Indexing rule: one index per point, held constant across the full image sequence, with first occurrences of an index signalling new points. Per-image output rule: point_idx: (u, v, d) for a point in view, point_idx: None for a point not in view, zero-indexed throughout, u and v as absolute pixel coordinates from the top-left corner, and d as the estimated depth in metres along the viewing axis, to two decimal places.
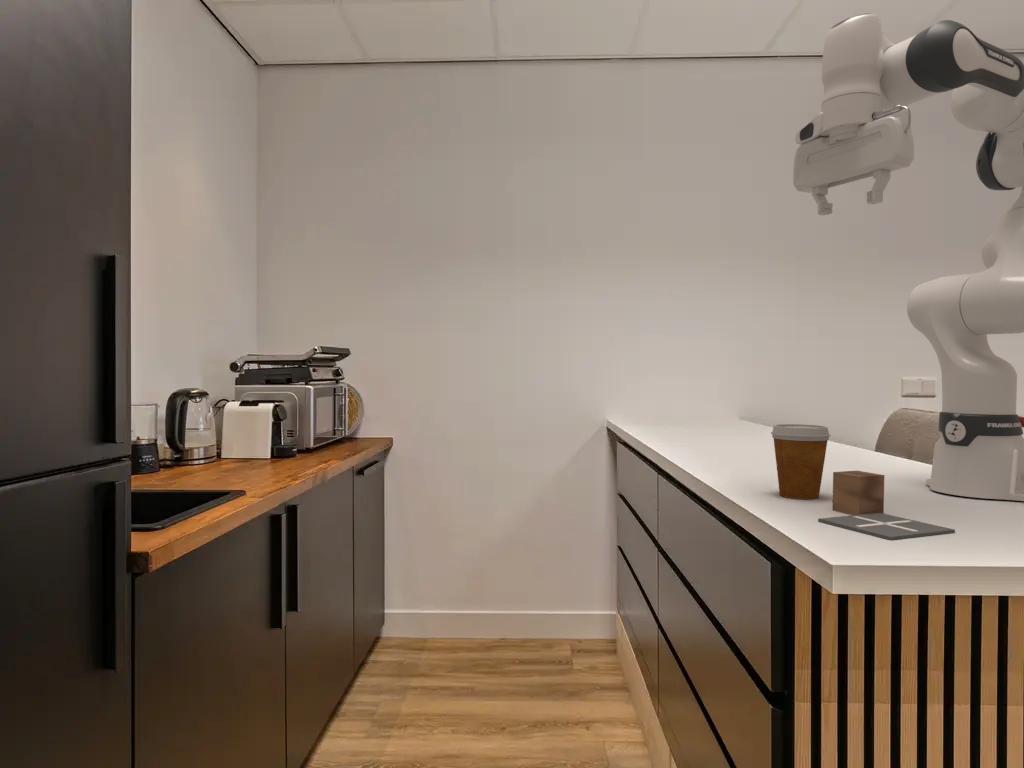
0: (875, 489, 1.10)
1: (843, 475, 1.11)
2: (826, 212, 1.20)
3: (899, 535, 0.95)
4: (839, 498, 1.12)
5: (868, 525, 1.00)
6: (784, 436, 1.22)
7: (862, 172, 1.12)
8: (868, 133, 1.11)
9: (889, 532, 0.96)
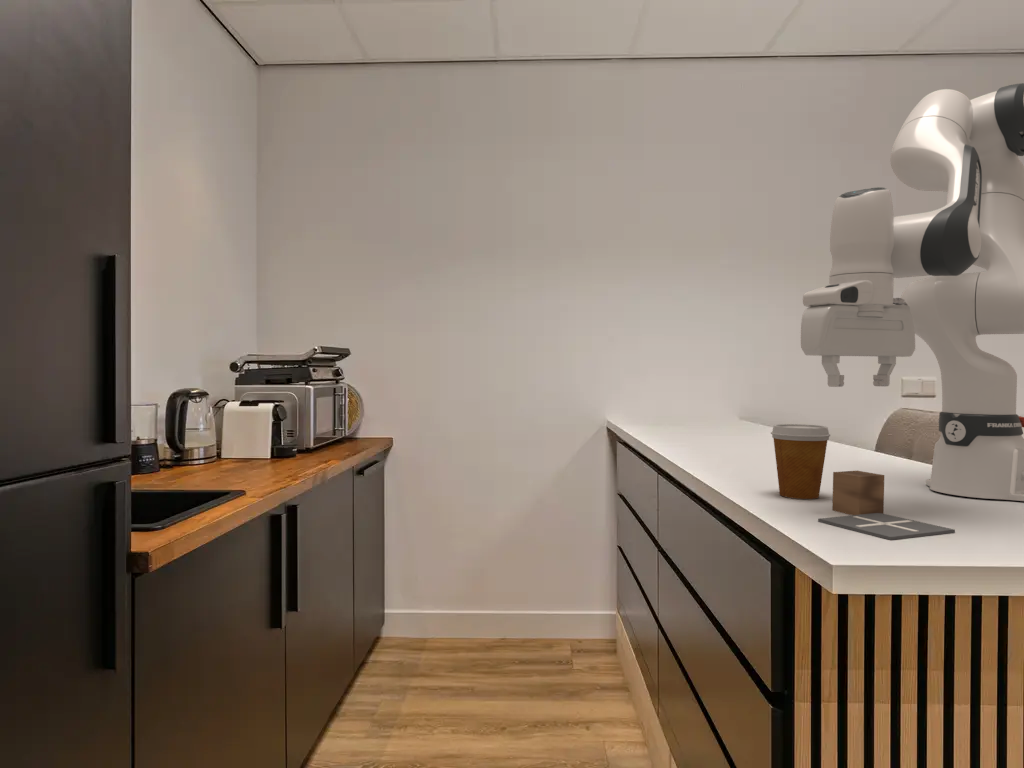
0: (875, 489, 1.10)
1: (843, 475, 1.11)
2: (841, 385, 1.09)
3: (899, 535, 0.95)
4: (839, 498, 1.12)
5: (868, 525, 1.00)
6: (784, 436, 1.22)
7: (885, 355, 1.11)
8: (893, 319, 1.11)
9: (889, 532, 0.96)
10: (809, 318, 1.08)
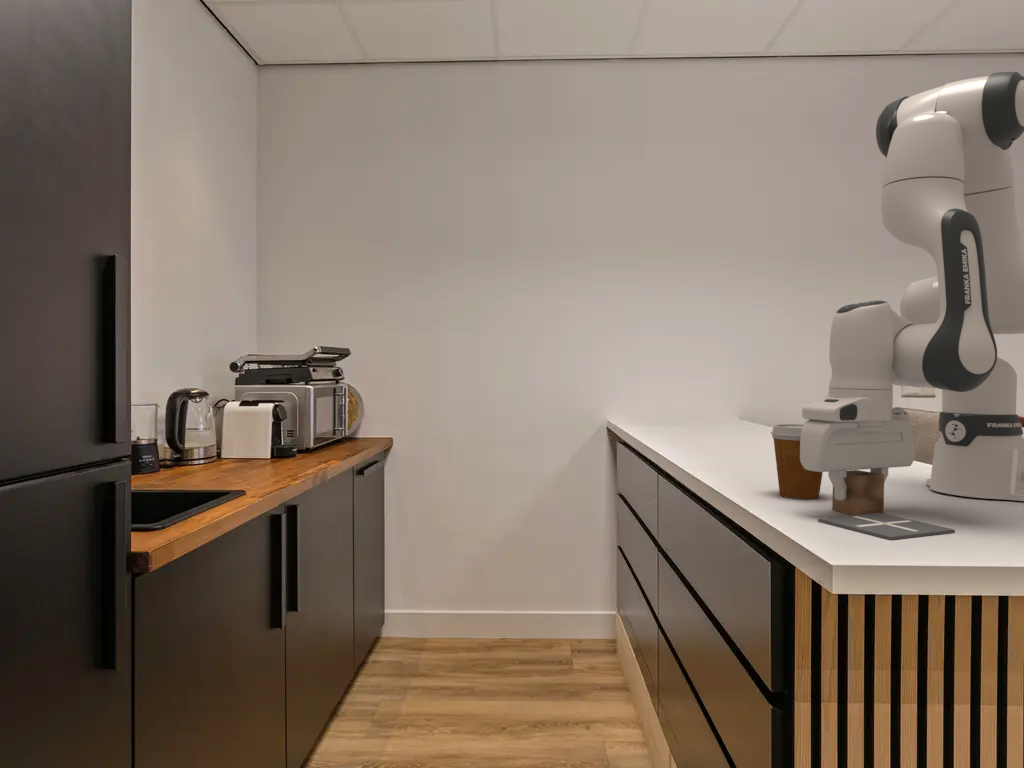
0: (875, 489, 1.10)
1: None
2: None
3: (899, 535, 0.95)
4: None
5: (868, 525, 1.00)
6: (784, 436, 1.22)
7: (884, 467, 1.11)
8: (892, 431, 1.12)
9: (889, 532, 0.96)
10: (808, 433, 1.08)
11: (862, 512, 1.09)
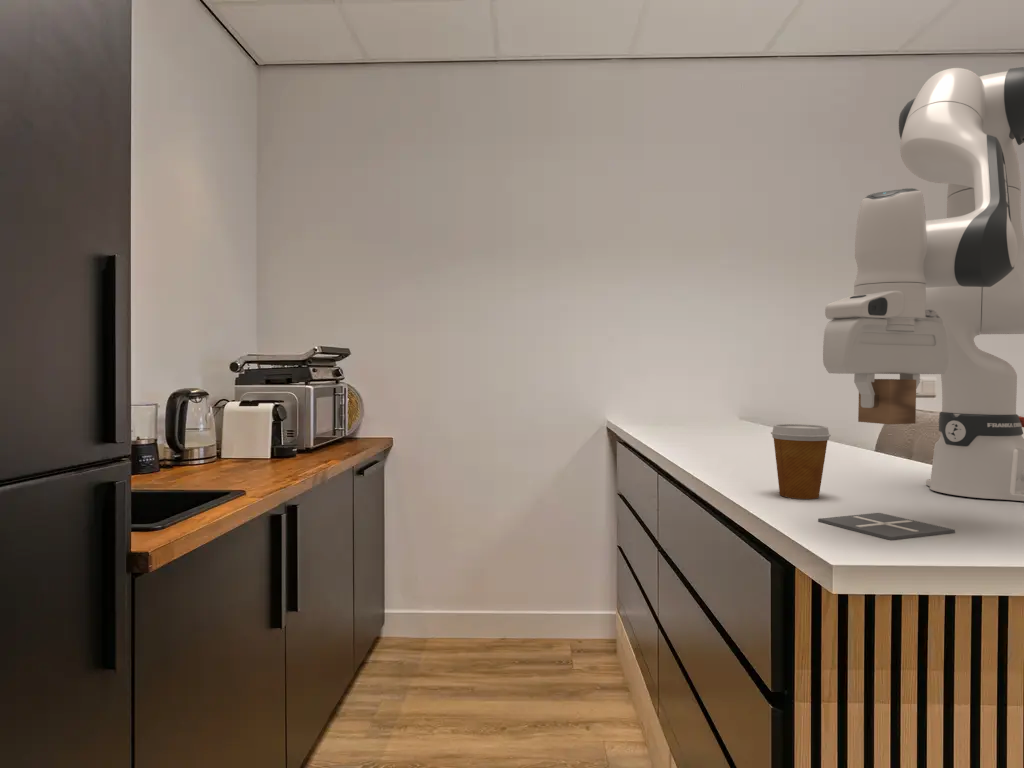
0: (906, 395, 0.99)
1: None
2: None
3: (899, 535, 0.95)
4: None
5: (868, 525, 1.00)
6: (784, 436, 1.22)
7: (916, 373, 1.01)
8: (924, 333, 1.01)
9: (889, 532, 0.96)
10: (832, 332, 0.98)
11: (892, 420, 0.98)
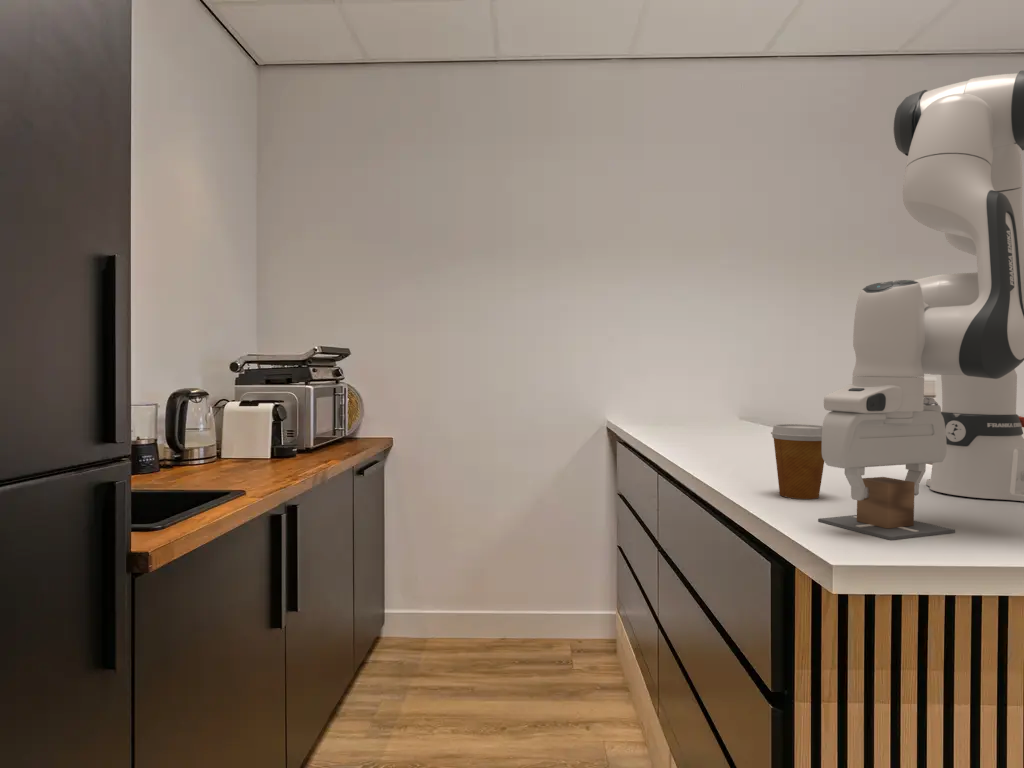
0: (904, 498, 0.99)
1: (869, 482, 1.01)
2: None
3: (899, 535, 0.95)
4: (865, 507, 1.01)
5: (868, 525, 1.00)
6: (784, 436, 1.22)
7: (914, 463, 1.01)
8: (922, 423, 1.01)
9: (889, 532, 0.96)
10: (831, 425, 0.98)
11: (890, 524, 0.98)
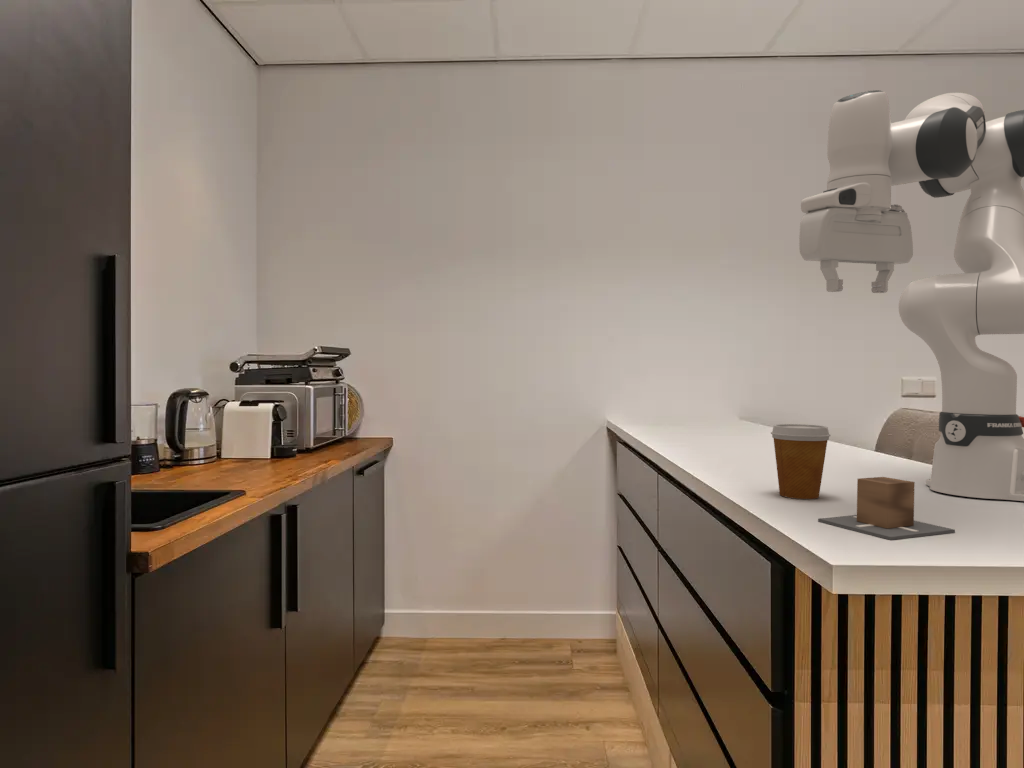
0: (904, 498, 0.99)
1: (869, 482, 1.01)
2: None
3: (899, 535, 0.95)
4: (865, 507, 1.01)
5: (868, 525, 1.00)
6: (784, 436, 1.22)
7: (883, 260, 1.12)
8: (890, 224, 1.12)
9: (889, 532, 0.96)
10: (807, 222, 1.08)
11: (890, 524, 0.98)
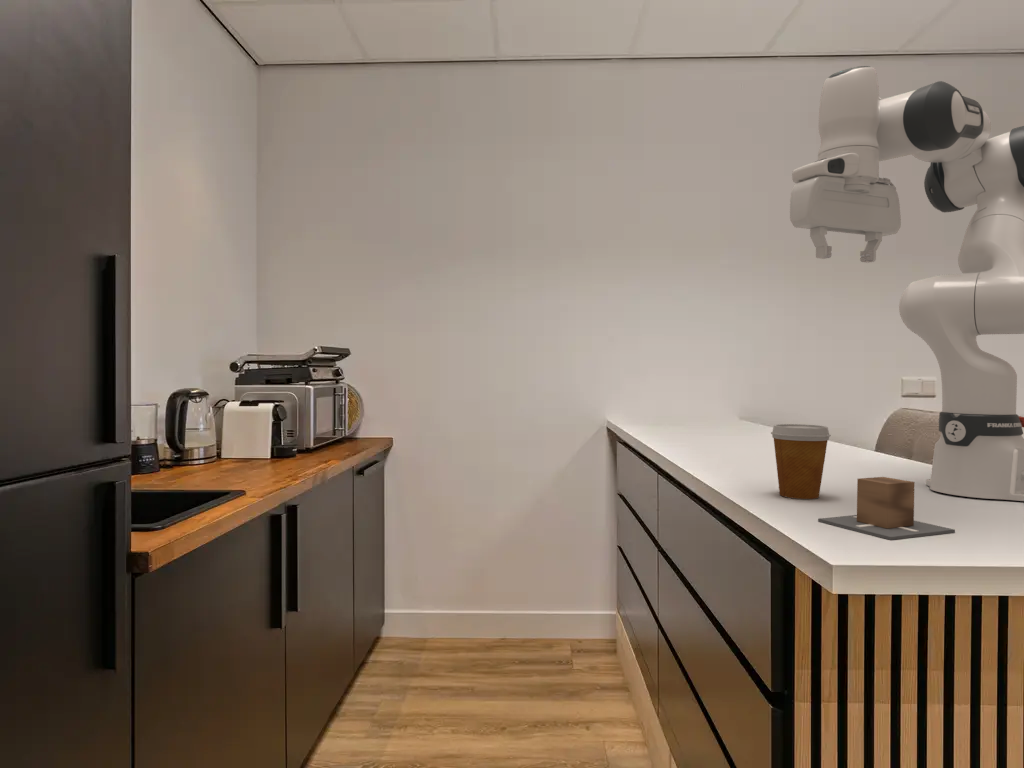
0: (904, 498, 0.99)
1: (869, 482, 1.01)
2: None
3: (899, 535, 0.95)
4: (865, 507, 1.01)
5: (868, 525, 1.00)
6: (784, 436, 1.22)
7: (871, 230, 1.16)
8: (879, 195, 1.16)
9: (889, 532, 0.96)
10: (797, 190, 1.13)
11: (890, 524, 0.98)
